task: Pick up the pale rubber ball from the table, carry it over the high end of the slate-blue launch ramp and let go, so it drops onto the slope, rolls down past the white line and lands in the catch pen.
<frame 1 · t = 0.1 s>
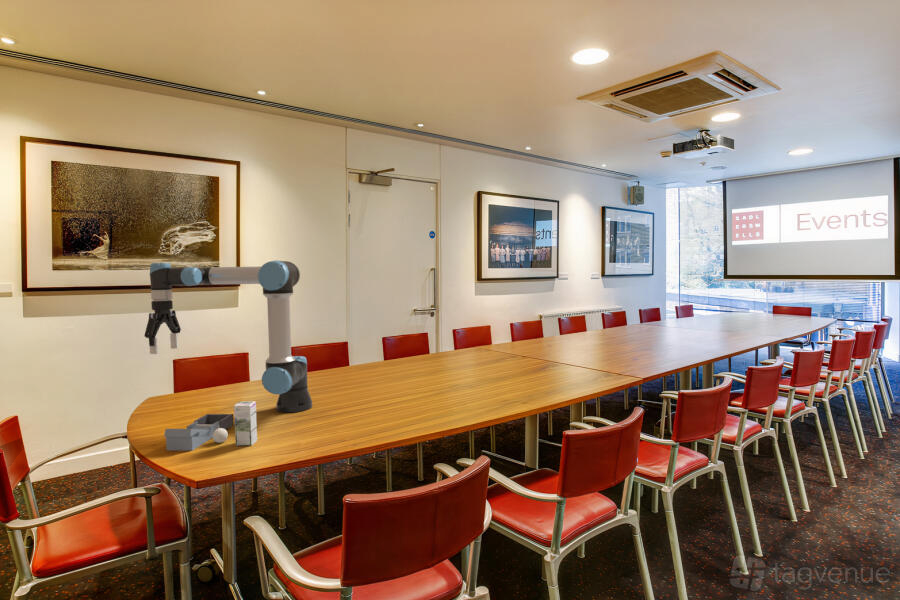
hand: (164, 351, 202), 28 cm above the table, fingers open, 13 cm apart
pale rubber ball: (220, 435, 172), point 2 cm above the table
syrup box: (246, 443, 171), on the table
launch ramp: (201, 436, 178), on the table
catch pen: (214, 428, 187), on the table
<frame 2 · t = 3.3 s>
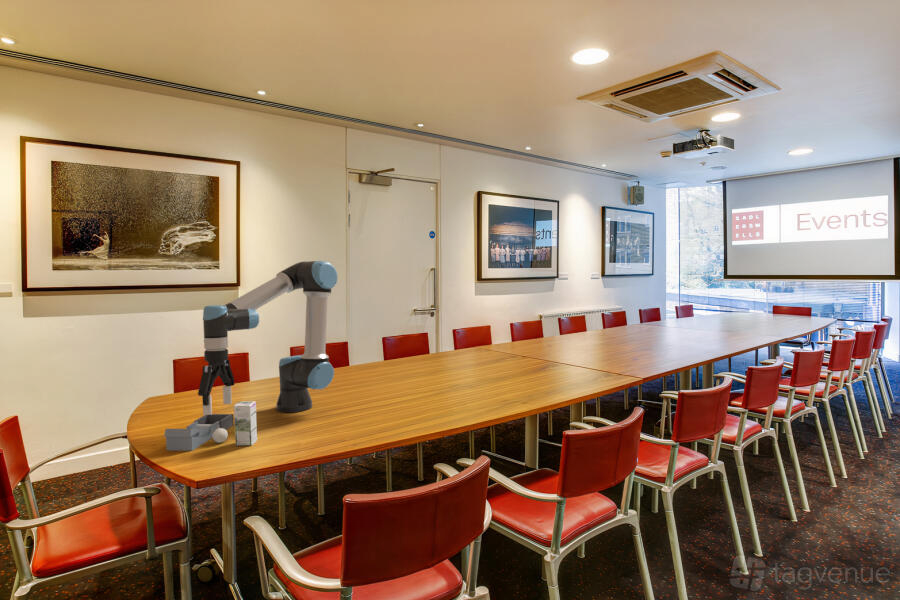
hand: (217, 408, 171), 12 cm above the table, fingers open, 13 cm apart
nothing on the table moved.
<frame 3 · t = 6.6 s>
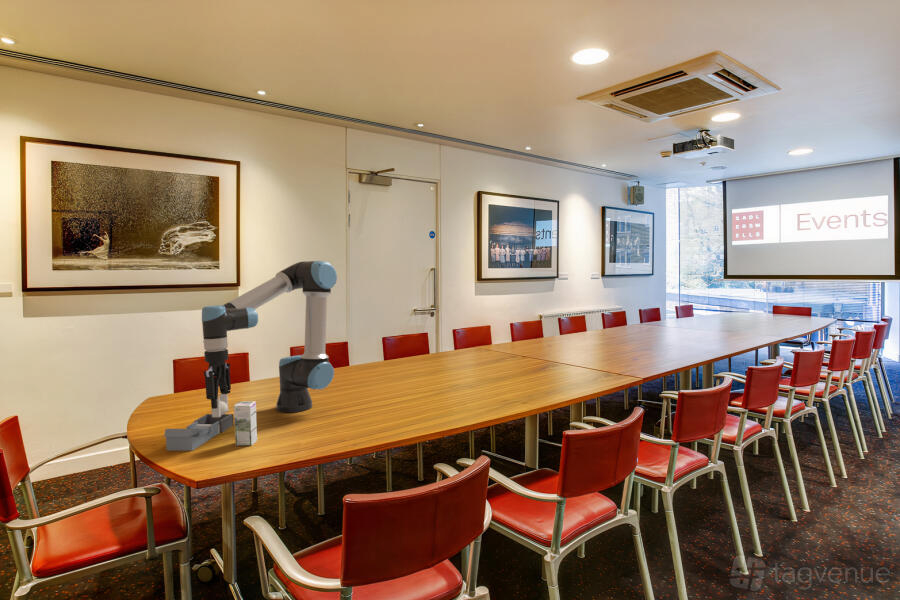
hand: (220, 414, 172), 10 cm above the table, fingers closed on pale rubber ball, 5 cm apart
pale rubber ball: (219, 408, 172), point 12 cm above the table, touching gripper
everything else where it was.
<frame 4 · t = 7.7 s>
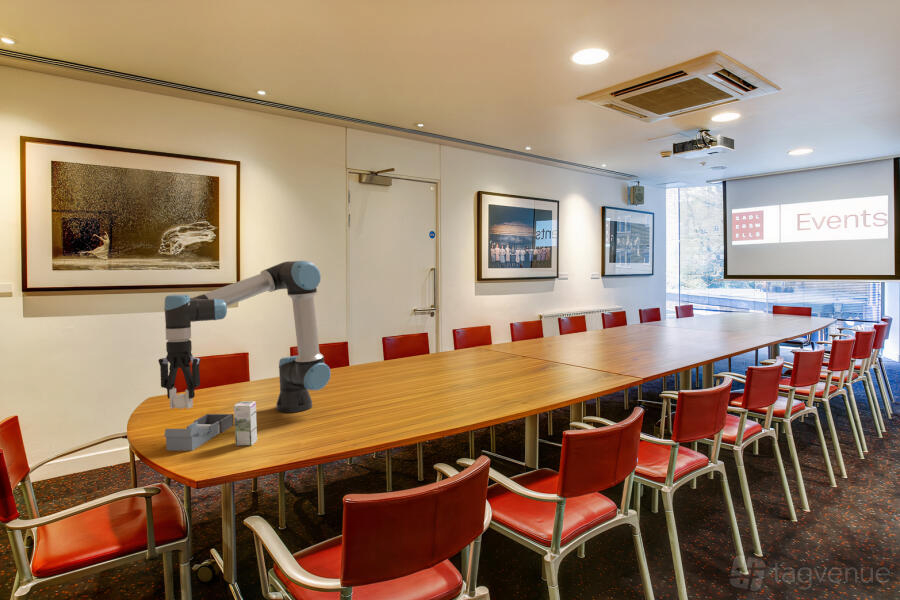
hand: (181, 407, 166), 14 cm above the table, fingers closed on pale rubber ball, 5 cm apart
pale rubber ball: (181, 401, 166), point 16 cm above the table, touching gripper
everything else where it was.
when the fingers open (9 cm above the table, at t = 8.8 s): pale rubber ball drops 8 cm and tips over, resting on catch pen.
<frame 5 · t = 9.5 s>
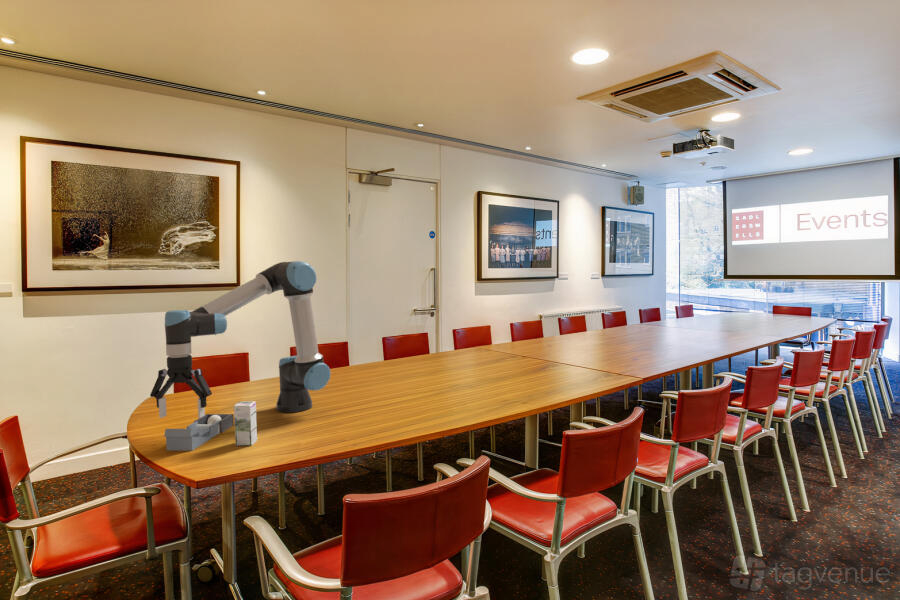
hand: (182, 416, 166), 11 cm above the table, fingers open, 13 cm apart
pale rubber ball: (214, 421, 187), point 3 cm above the table, tilted 166°, touching catch pen
everything else where it was.
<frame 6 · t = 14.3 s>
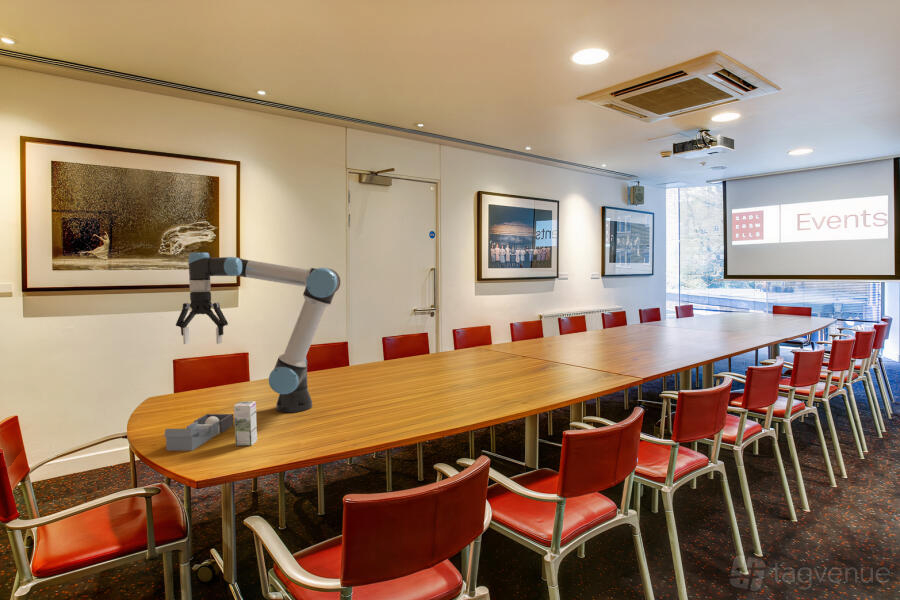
hand: (202, 343, 196), 32 cm above the table, fingers open, 13 cm apart
pale rubber ball: (212, 422, 185), point 3 cm above the table, tilted 153°, touching catch pen
everything else where it was.
at the end: pale rubber ball inside the target area on the catch pen (1.1 cm from its centre), point 2.8 cm above the catch pen's base; the gripper is holding nothing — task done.
